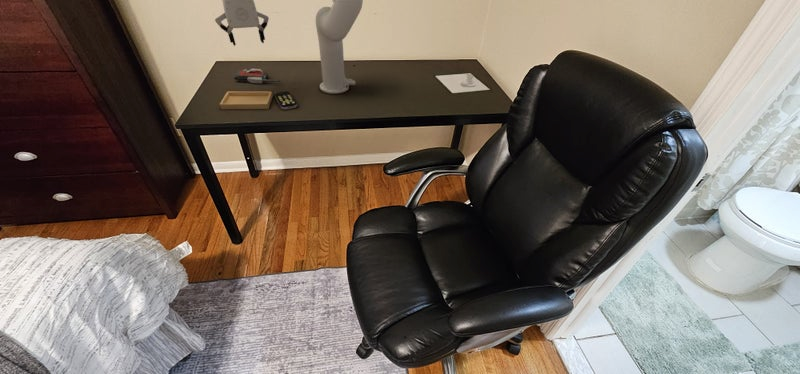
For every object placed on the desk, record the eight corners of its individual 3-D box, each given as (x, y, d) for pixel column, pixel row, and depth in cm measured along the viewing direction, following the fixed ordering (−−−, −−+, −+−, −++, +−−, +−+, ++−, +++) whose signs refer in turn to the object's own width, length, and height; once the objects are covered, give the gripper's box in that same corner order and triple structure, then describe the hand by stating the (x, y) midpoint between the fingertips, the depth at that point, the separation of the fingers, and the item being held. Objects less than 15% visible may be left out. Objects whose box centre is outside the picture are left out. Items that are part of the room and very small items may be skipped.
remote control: (289, 94, 131) (288, 89, 130) (298, 107, 123) (297, 103, 122) (274, 96, 129) (273, 92, 127) (282, 110, 120) (281, 105, 119)
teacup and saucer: (463, 87, 147) (464, 79, 145) (455, 80, 153) (457, 72, 150) (479, 86, 150) (481, 78, 147) (471, 79, 155) (473, 71, 153)
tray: (272, 96, 129) (271, 91, 128) (268, 108, 121) (267, 103, 119) (228, 96, 126) (227, 91, 125) (221, 109, 118) (219, 104, 117)
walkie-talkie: (233, 83, 135) (280, 85, 137) (230, 73, 132) (278, 75, 134) (239, 75, 142) (284, 77, 144) (236, 66, 139) (282, 67, 141)
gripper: (206, -9, 97) (223, 48, 109) (264, -10, 104) (275, 44, 115) (205, -13, 102) (221, 42, 114) (260, -14, 109) (271, 38, 120)
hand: (248, 43), depth 114 cm, fingers open, 9 cm apart
